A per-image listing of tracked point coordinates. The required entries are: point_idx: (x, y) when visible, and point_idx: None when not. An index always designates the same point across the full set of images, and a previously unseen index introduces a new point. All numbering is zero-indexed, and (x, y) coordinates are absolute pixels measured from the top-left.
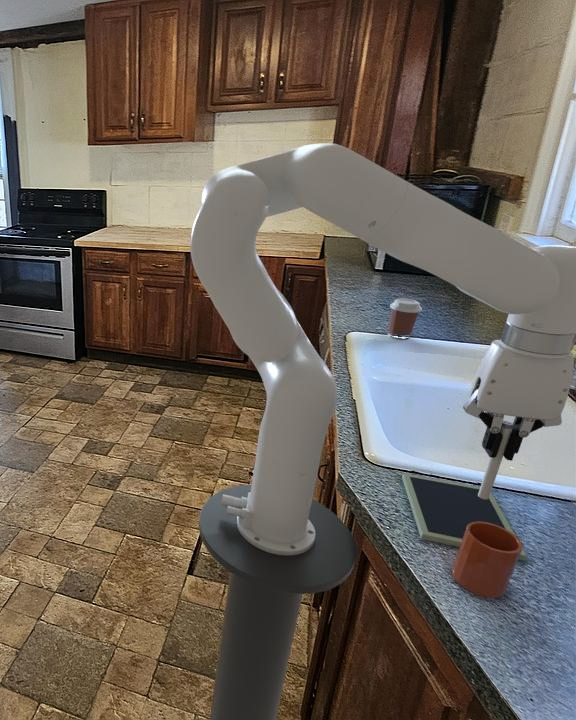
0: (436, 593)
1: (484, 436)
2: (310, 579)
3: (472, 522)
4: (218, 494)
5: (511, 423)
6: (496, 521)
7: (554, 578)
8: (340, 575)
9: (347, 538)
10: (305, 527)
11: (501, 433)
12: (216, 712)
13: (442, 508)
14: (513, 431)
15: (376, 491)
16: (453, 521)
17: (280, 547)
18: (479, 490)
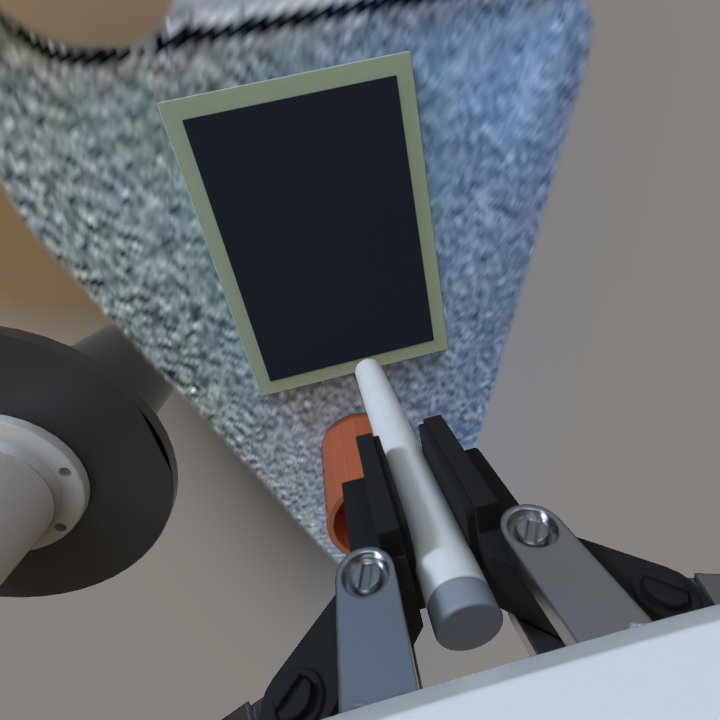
0: (302, 510)
1: (346, 515)
2: (126, 552)
3: (339, 500)
4: None
5: (492, 617)
6: (408, 249)
7: (482, 365)
8: (163, 519)
9: (137, 427)
10: (45, 511)
11: (422, 595)
12: None
13: (290, 265)
14: (489, 579)
15: (123, 248)
16: (317, 310)
17: (42, 540)
18: (357, 380)
